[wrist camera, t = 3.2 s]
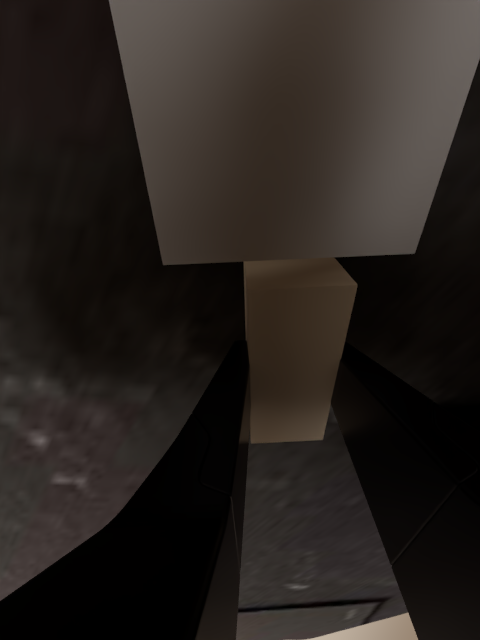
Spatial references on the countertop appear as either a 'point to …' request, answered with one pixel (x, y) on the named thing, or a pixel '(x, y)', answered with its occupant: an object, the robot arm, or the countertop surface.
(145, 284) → the countertop surface
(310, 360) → the turner
